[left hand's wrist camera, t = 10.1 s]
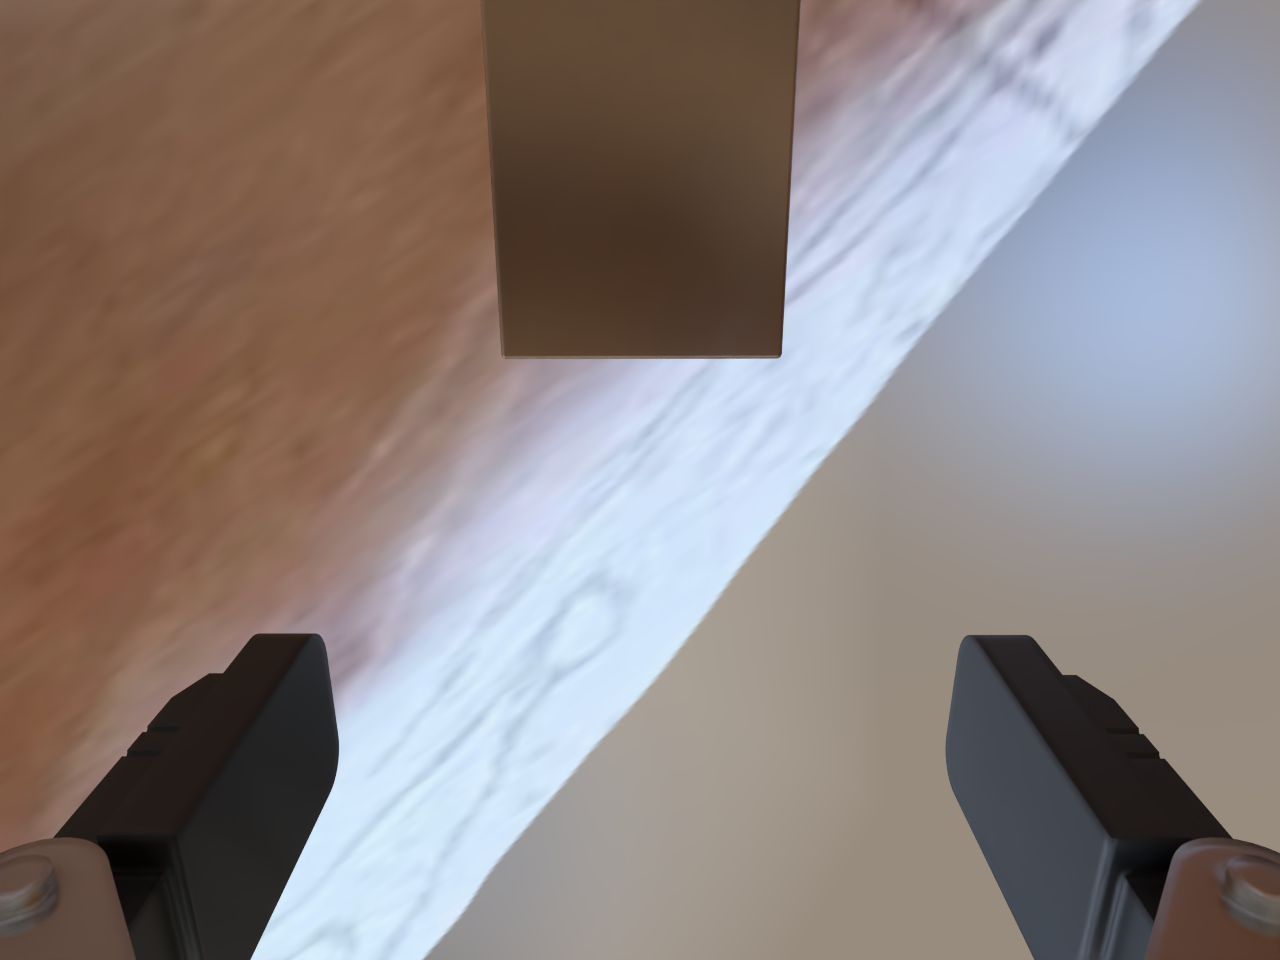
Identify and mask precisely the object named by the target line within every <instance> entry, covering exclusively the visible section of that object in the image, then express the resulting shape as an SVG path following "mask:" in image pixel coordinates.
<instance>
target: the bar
mask: <svg viewBox="0 0 1280 960" xmlns="http://www.w3.org/2000/svg"><path fill="white" fill-rule="evenodd" d="M800 2H801V0H481V13H482V30H483V47H484V64H485V81H486V98H487V115H488V133H489V150H490V167H491V184H492V201H493V218H494V235H495V252H496V269H497V286H498V303H499V321H500V338H501V355H502V357H503V358H505V359H752V358H779V357H780V356H781V354H782V339H783V320H784V301H785V282H786V264H787V245H788V226H789V208H790V189H791V170H792V152H793V133H794V114H795V95H796V77H797V58H798V39H799V21H800Z"/></svg>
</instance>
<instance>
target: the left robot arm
mask: <svg viewBox="0 0 1280 960" xmlns="http://www.w3.org/2000/svg"><path fill="white" fill-rule="evenodd" d="M147 727H148V729H147V732H142V733H141V735H140V736H139V737H138V738H137V739H136V741H135V742H134V743H133V744H132V745H131V746H130V748H129V749H128V750H127V756H126V757H121V758H120V759H119V761H118V762H117V763H116V764H115V765H114V767H113V768H112V769H111V770H110V771H109V772H108V774H107V775H106V776H105V777H104V778H103V780H102V781H101V782H100V783H99V784H98V785H97V787H96V788H95V789H94V790H93V791H92V793H91V794H90V795H89V796H88V797H87V798H86V800H85V801H84V802H83V803H82V804H81V806H80V807H79V808H78V809H77V810H76V811H75V813H74V814H73V815H72V816H71V817H70V819H69V820H68V821H67V822H66V823H65V824H64V826H63V827H62V828H61V829H60V830H59V832H58V833H57V834H56V835H55V836H54V837H53V838H51V839H44V840H39V841H35V842H30V843H26V844H23V845H20V846H17V847H14V848H11V849H9V850H7V851H4V852H2V853H0V960H250V959H251V957H252V955H253V953H254V951H255V949H256V947H257V945H258V943H259V940H260V938H261V936H262V934H263V932H264V930H265V928H266V926H267V924H268V922H269V920H270V917H271V915H272V913H273V911H274V909H275V907H276V905H277V903H278V901H279V899H280V897H281V894H282V892H283V890H284V888H285V886H286V884H287V882H288V880H289V878H290V876H291V873H292V871H293V869H294V867H295V865H296V863H297V861H298V859H299V857H300V855H301V853H302V850H303V848H304V846H305V844H306V842H307V840H308V838H309V836H310V834H311V832H312V830H313V827H314V825H315V823H316V821H317V819H318V817H319V815H320V813H321V811H322V809H323V807H324V804H325V802H326V800H327V798H328V796H329V794H330V792H331V789H332V787H333V784H334V781H335V777H336V772H337V766H338V757H339V739H338V730H337V723H336V716H335V709H334V702H333V694H332V687H331V680H330V673H329V666H328V659H327V652H326V647H325V644H324V641H323V639H322V637H321V636H320V635H319V634H256V635H254V636H253V637H252V638H251V639H250V640H249V641H248V642H247V644H246V645H245V646H244V648H243V649H242V650H241V651H240V653H239V654H238V655H237V656H236V658H235V659H234V660H233V662H232V663H231V664H230V665H229V667H228V668H227V669H226V670H225V672H224V673H209V674H208V675H206V676H205V677H203V678H201V679H200V680H198V681H197V682H195V683H194V684H192V685H191V686H189V687H188V688H186V689H184V690H183V691H181V692H180V693H178V694H177V695H175V696H174V697H172V698H171V699H170V700H169V702H168V703H167V704H166V705H165V706H164V707H163V709H162V710H161V711H160V712H159V713H158V715H157V716H156V717H155V718H154V719H153V720H152V722H151V723H150V724H149V725H148V726H147ZM946 763H947V770H948V776H949V780H950V784H951V787H952V790H953V792H954V794H955V796H956V798H957V801H958V803H959V805H960V807H961V809H962V811H963V813H964V815H965V817H966V819H967V821H968V823H969V825H970V827H971V830H972V832H973V834H974V836H975V838H976V840H977V842H978V844H979V846H980V848H981V850H982V852H983V854H984V856H985V858H986V861H987V863H988V865H989V867H990V869H991V871H992V873H993V875H994V877H995V879H996V881H997V883H998V885H999V887H1000V889H1001V891H1002V894H1003V896H1004V898H1005V900H1006V902H1007V904H1008V906H1009V908H1010V910H1011V912H1012V914H1013V916H1014V918H1015V920H1016V922H1017V925H1018V926H1019V929H1020V931H1021V933H1022V935H1023V937H1024V939H1025V941H1026V943H1027V945H1028V947H1029V949H1030V951H1031V954H1032V956H1033V958H1034V960H1280V853H1278V852H1276V851H1273V850H1271V849H1269V848H1266V847H1262V846H1260V845H1257V844H1254V843H1250V842H1245V841H1241V840H1236V839H1233V838H1232V837H1231V836H1230V835H1229V834H1228V832H1227V831H1226V830H1225V829H1224V828H1223V827H1222V825H1221V824H1220V823H1219V822H1218V821H1217V820H1216V818H1215V817H1214V816H1213V815H1212V814H1211V813H1210V811H1209V810H1208V809H1207V808H1206V807H1205V805H1204V804H1203V803H1202V802H1201V801H1200V800H1199V798H1198V797H1197V796H1196V795H1195V794H1194V793H1193V791H1192V790H1191V789H1190V788H1189V787H1188V786H1187V784H1186V783H1185V782H1184V781H1183V780H1182V779H1181V777H1180V776H1179V775H1178V774H1177V773H1176V771H1175V770H1174V769H1173V768H1172V767H1171V766H1170V764H1169V763H1168V762H1167V761H1166V760H1165V759H1160V757H1159V752H1158V750H1157V749H1156V748H1155V747H1154V746H1153V745H1152V743H1151V742H1150V741H1149V740H1148V739H1147V738H1146V736H1145V735H1144V734H1139V728H1138V727H1137V726H1136V725H1135V724H1134V722H1133V721H1132V720H1131V719H1130V718H1129V717H1128V715H1127V714H1126V713H1125V712H1124V711H1123V709H1122V708H1121V707H1120V706H1119V705H1118V704H1117V702H1116V701H1115V700H1114V699H1112V698H1111V697H1109V696H1108V695H1106V694H1105V693H1103V692H1102V691H1100V690H1098V689H1097V688H1095V687H1094V686H1092V685H1091V684H1089V683H1088V682H1086V681H1085V680H1083V679H1081V678H1080V677H1078V676H1077V675H1062V674H1061V672H1060V671H1059V670H1058V669H1057V668H1056V666H1055V665H1054V664H1053V662H1052V661H1051V660H1050V659H1049V657H1048V656H1047V655H1046V654H1045V652H1044V651H1043V650H1042V649H1041V647H1040V646H1039V645H1038V644H1037V642H1036V641H1035V640H1034V639H1033V638H1032V637H1030V636H1028V635H968V636H966V637H964V639H963V640H962V642H961V645H960V648H959V652H958V659H957V666H956V673H955V680H954V687H953V694H952V701H951V708H950V715H949V722H948V729H947V737H946Z"/></svg>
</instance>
